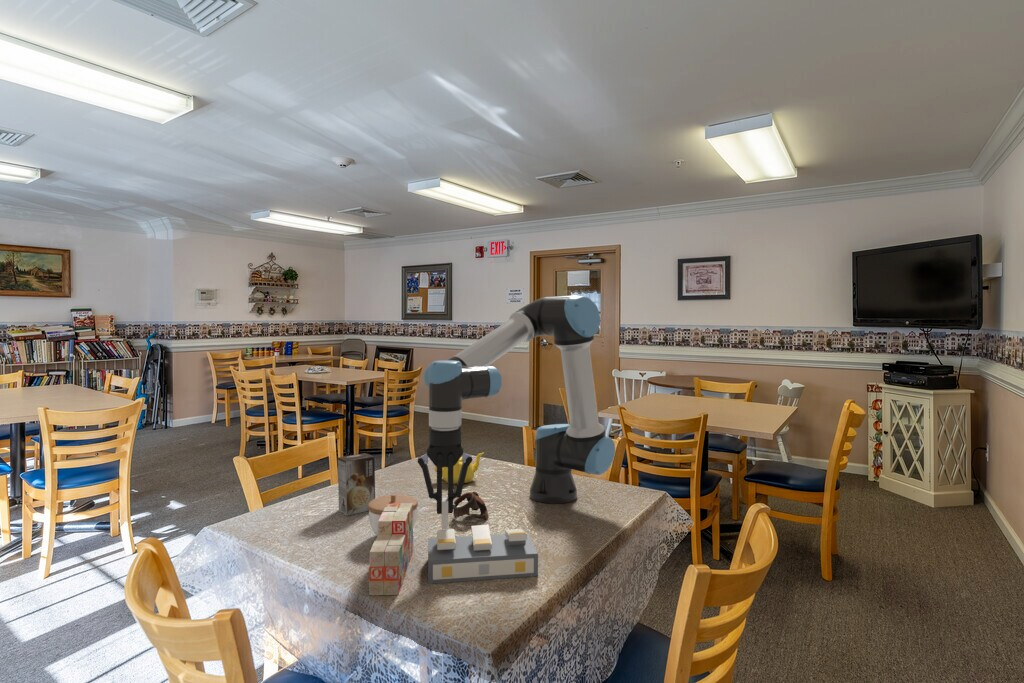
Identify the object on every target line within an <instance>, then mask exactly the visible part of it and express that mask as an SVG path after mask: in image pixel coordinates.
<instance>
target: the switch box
mask: <svg viewBox="0 0 1024 683" xmlns="http://www.w3.org/2000/svg"><path fill="white" fill-rule="evenodd" d="M526 533H527V540H523V541H509V540H508V539H507V538H506V536H505V533H500V534H499V533H497V534H490V536H491V542H492V550H475V551H474V548H473V540H472V535H465V536H464V535H463V536H455V541H456V549H445V550H437V537H429V538H427V565H428V566H427V584H442V583H454V582H467V581H482V580H497V579H513V578H526V577H527V578H528V577H538V576H539V553H538V551H537V548H536V546H535V544H534V543H533V542H534V541H533V540H532V537H531V535H530V533H529V532H526Z"/></svg>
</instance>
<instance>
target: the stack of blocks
mask: <svg viewBox="0 0 1024 683" xmlns="http://www.w3.org/2000/svg"><path fill="white" fill-rule="evenodd" d="M376 536H377V535H376ZM413 553H414V528H413V503H401V504H400V503H392V504H387V506H386V507H385V508H384V511H383V512H382V514H381V517H380V519H379V521H378V536H377V537H376V538H375V540H374V541H373V544H372V545H371V549H370V550H369V566H368V595H369V596H398V595H400V591H401V588H402V586H403V583H404V581H405V578H406V574H407V570H408V567H409V565H410V562H411V560H412V556H413Z"/></svg>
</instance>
